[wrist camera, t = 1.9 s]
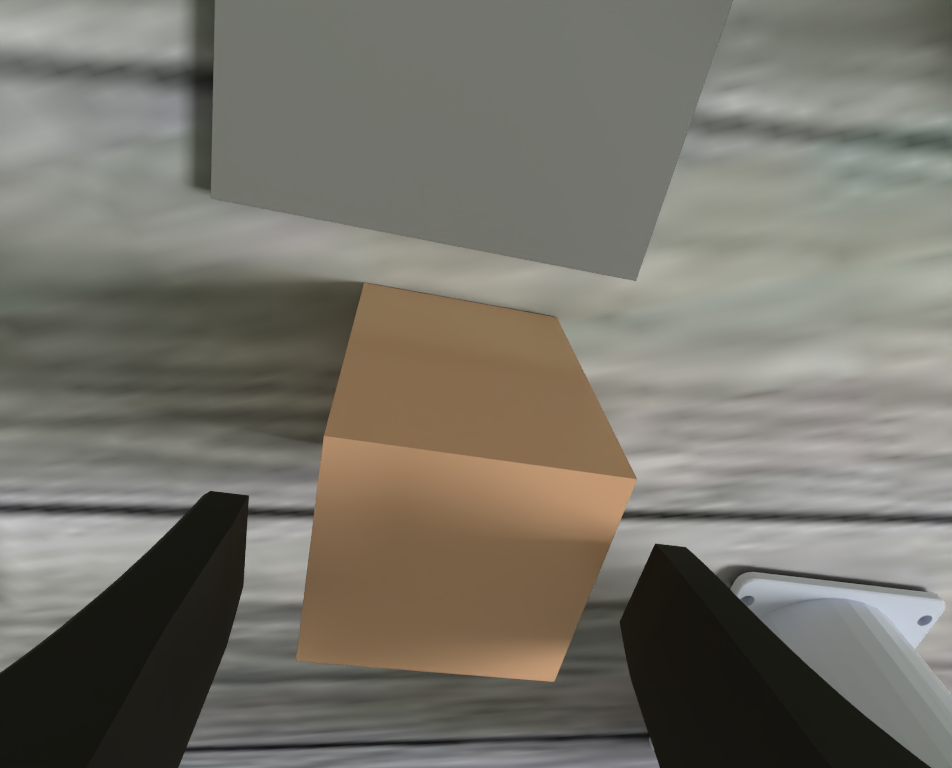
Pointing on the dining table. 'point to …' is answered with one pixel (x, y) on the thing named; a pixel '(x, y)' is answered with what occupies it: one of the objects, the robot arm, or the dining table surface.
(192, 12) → the dining table surface
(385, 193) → the mat
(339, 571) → the light orange block
